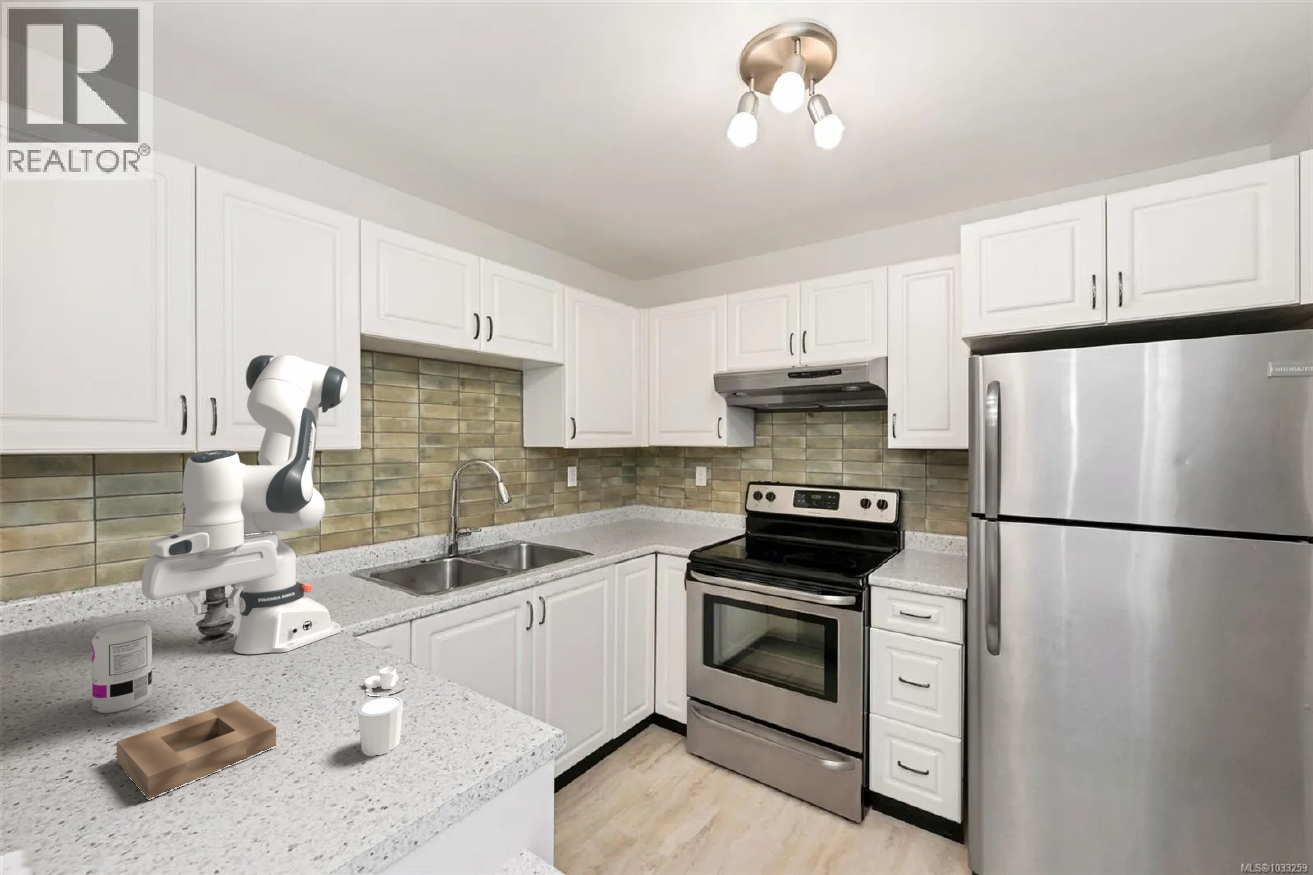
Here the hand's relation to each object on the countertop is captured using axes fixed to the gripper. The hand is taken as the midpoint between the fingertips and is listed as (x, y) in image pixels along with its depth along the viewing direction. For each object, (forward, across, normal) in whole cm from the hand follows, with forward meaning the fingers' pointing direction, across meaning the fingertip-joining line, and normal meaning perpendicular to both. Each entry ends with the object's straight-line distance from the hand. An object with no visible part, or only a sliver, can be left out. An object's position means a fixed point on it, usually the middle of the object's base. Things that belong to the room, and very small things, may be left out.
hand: (216, 610), depth 103 cm
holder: (+19, +7, +16) cm, 25 cm away
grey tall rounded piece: (+6, 0, 0) cm, 6 cm away
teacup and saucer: (+20, -25, +16) cm, 36 cm away
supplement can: (+19, +10, -18) cm, 28 cm away
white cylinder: (+19, -11, +37) cm, 43 cm away
